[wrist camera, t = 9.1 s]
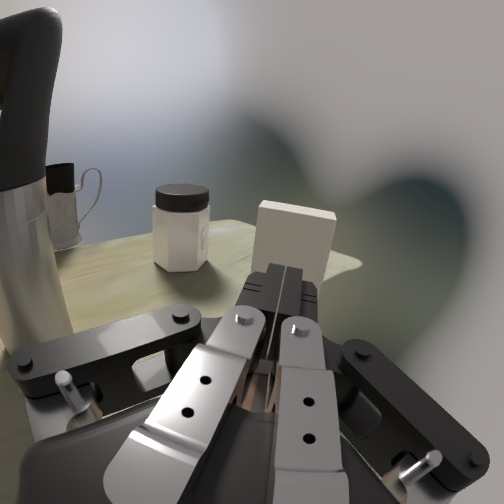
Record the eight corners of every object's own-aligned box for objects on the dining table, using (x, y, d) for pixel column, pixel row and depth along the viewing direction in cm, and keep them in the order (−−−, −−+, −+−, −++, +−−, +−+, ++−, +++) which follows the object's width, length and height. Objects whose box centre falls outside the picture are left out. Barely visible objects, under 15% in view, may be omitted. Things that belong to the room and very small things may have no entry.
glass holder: (40, 238, 46) (34, 167, 40) (98, 225, 56) (96, 158, 50) (45, 253, 41) (36, 172, 35) (110, 237, 51) (108, 161, 45)
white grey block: (294, 379, 22) (337, 222, 17) (237, 368, 23) (257, 208, 17) (297, 356, 25) (333, 210, 19) (245, 346, 26) (264, 198, 20)
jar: (192, 278, 41) (195, 198, 36) (145, 267, 42) (143, 191, 37) (212, 255, 49) (217, 186, 44) (171, 246, 50) (172, 181, 45)
